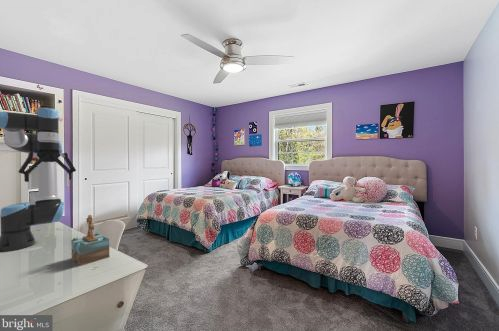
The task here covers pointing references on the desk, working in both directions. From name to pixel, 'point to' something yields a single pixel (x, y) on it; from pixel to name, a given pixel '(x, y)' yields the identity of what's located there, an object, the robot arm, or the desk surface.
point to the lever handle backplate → (90, 234)
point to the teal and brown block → (90, 249)
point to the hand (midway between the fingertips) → (49, 187)
